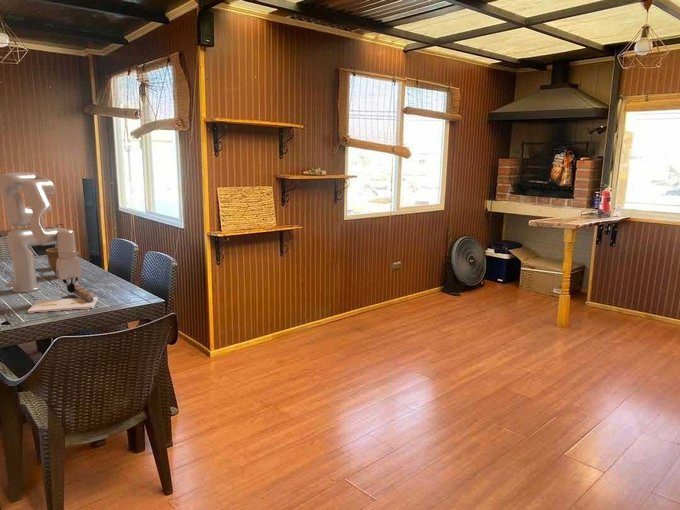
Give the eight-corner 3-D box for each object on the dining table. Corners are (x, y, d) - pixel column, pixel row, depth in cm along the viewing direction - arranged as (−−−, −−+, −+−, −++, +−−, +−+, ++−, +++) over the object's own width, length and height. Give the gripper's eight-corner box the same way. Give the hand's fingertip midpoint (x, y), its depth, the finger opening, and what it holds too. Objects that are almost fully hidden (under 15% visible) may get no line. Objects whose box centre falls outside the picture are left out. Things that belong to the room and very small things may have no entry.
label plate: (27, 313, 217) (27, 310, 217) (37, 303, 232) (36, 300, 232) (92, 308, 225) (92, 305, 225) (97, 299, 240) (97, 296, 240)
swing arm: (94, 300, 232) (94, 293, 231) (87, 301, 230) (87, 294, 229) (77, 290, 248) (76, 283, 248) (70, 291, 246) (70, 284, 246)
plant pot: (83, 273, 290) (81, 246, 287) (67, 279, 276) (64, 251, 272) (59, 272, 292) (57, 246, 288) (42, 278, 277) (39, 250, 274)
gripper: (81, 252, 244) (84, 287, 248) (47, 256, 234) (52, 293, 237) (86, 254, 239) (90, 290, 243) (52, 258, 229) (56, 296, 232)
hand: (71, 292), depth 240 cm, fingers closed
